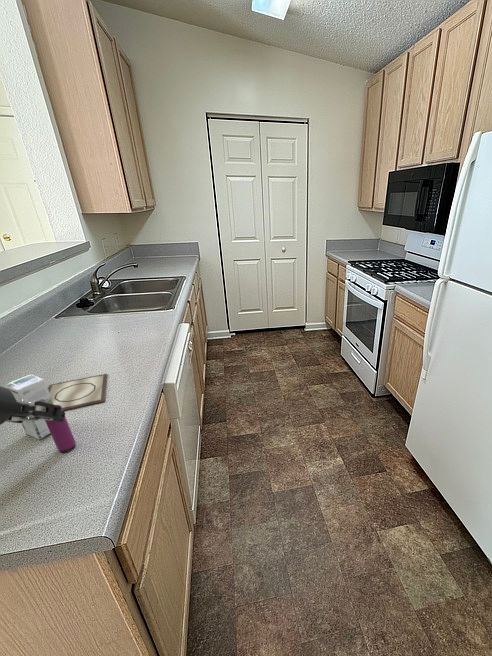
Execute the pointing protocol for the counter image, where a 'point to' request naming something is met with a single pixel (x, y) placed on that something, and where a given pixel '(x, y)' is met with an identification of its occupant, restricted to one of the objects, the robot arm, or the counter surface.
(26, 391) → the syrup box
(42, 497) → the counter surface
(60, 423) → the cylinder
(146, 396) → the counter surface
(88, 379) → the board
